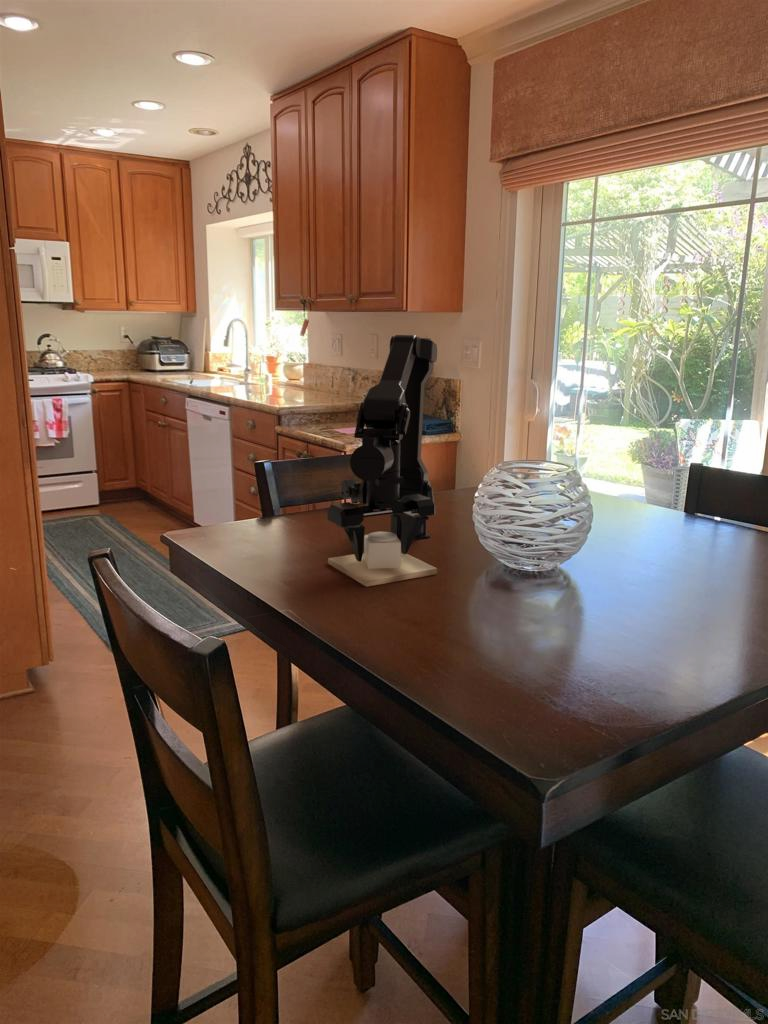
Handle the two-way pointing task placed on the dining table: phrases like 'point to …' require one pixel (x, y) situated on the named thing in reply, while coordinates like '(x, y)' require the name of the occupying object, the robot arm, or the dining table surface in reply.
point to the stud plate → (381, 570)
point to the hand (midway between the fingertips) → (381, 557)
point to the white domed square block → (382, 550)
